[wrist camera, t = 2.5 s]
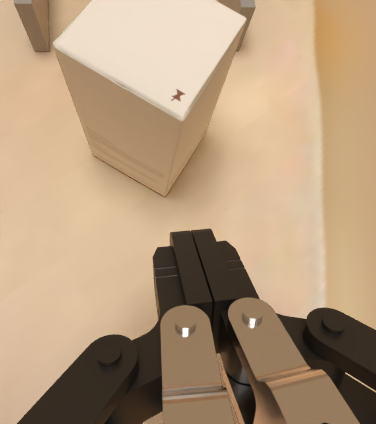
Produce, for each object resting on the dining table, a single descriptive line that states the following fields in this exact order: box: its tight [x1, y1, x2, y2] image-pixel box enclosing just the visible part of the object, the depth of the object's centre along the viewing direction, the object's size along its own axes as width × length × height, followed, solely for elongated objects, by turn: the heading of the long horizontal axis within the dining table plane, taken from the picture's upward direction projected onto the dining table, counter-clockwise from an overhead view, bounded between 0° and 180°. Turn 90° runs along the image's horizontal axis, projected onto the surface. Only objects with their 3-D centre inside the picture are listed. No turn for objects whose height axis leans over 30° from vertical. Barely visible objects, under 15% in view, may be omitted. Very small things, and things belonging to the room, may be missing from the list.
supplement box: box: [53, 0, 247, 197], centre depth 23 cm, size 7×7×13 cm
